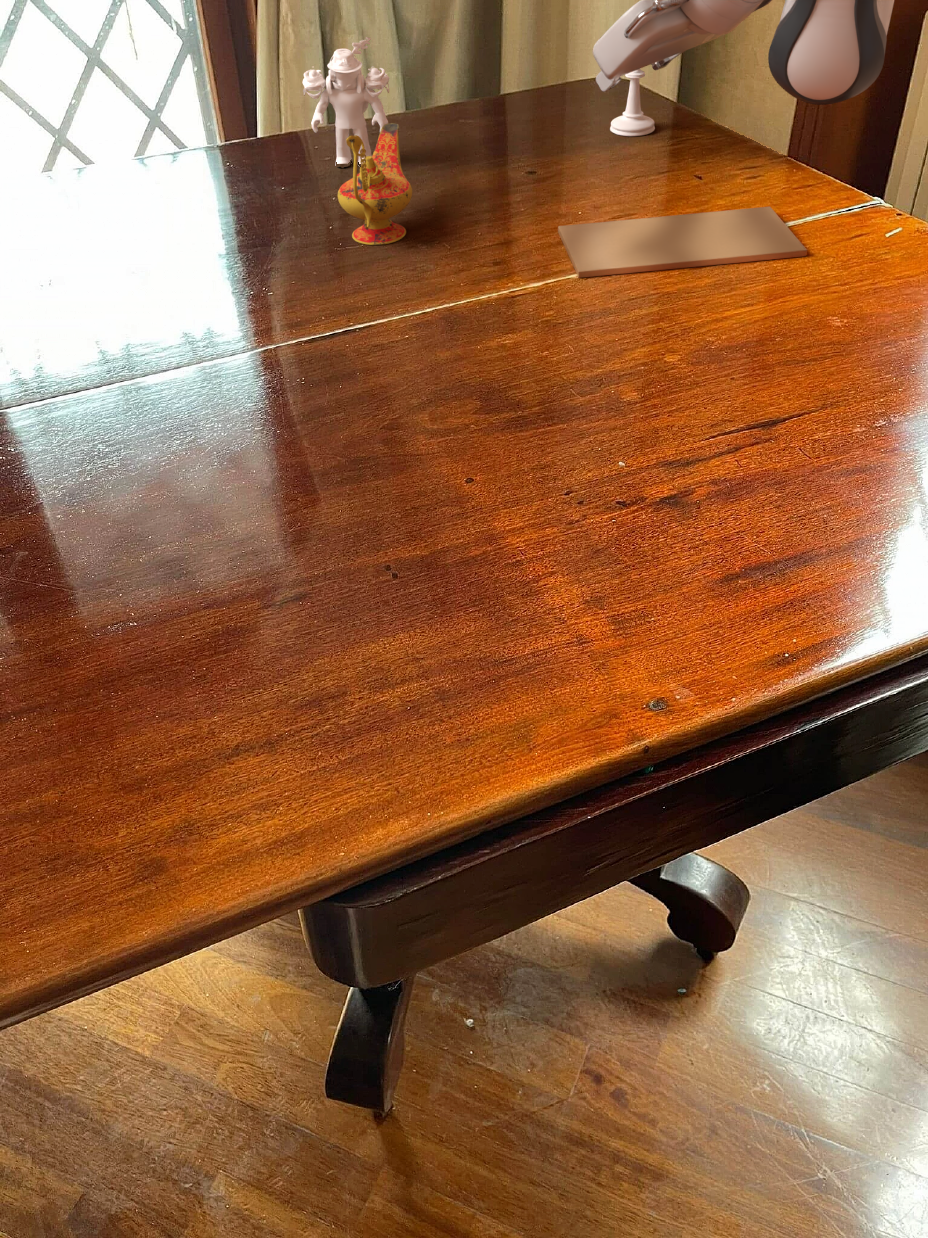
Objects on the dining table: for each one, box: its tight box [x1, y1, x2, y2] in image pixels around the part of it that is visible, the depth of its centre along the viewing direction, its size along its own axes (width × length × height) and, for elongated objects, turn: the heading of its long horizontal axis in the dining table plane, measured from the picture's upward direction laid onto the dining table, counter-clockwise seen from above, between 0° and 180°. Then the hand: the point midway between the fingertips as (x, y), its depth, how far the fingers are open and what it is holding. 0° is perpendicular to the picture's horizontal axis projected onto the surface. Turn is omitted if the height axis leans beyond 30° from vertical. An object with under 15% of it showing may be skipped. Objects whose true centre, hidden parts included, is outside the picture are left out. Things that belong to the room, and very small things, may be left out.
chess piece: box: [609, 68, 656, 137], centre depth 118 cm, size 5×5×10 cm
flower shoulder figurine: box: [302, 36, 390, 164], centre depth 113 cm, size 9×4×12 cm, turn 87°
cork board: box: [557, 206, 808, 279], centre depth 98 cm, size 20×10×1 cm, turn 96°
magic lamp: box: [337, 122, 413, 246], centre depth 100 cm, size 7×18×11 cm, turn 173°
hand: (629, 73), depth 118 cm, fingers open, 8 cm apart
